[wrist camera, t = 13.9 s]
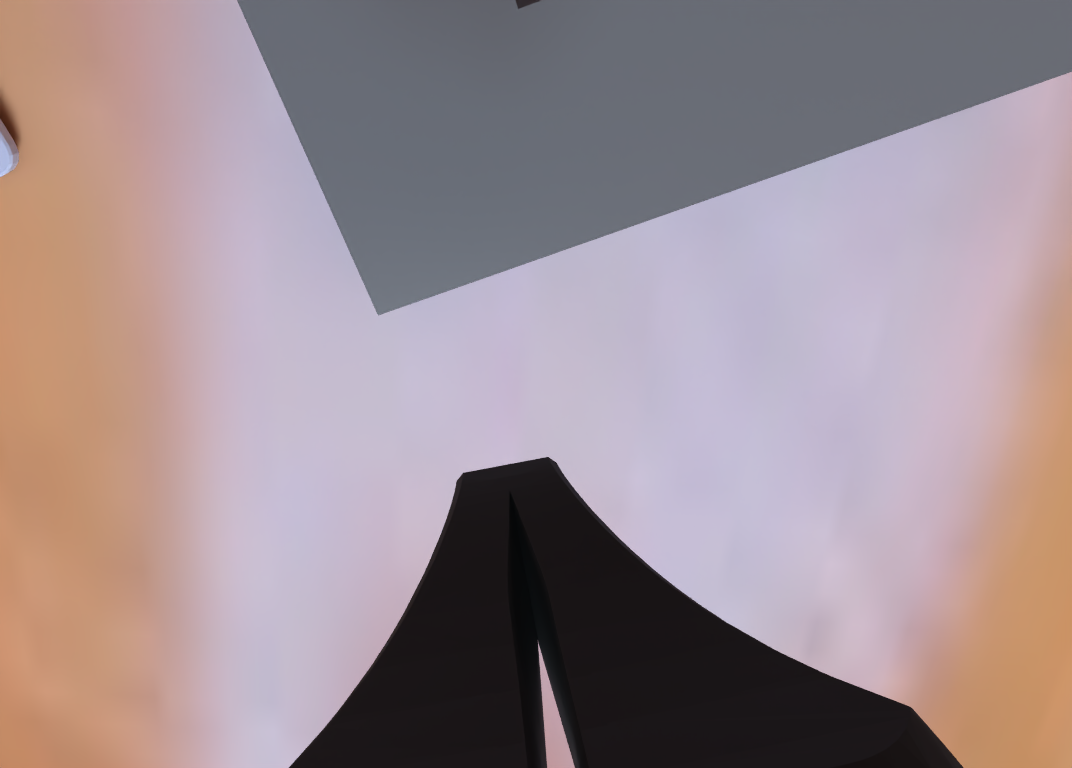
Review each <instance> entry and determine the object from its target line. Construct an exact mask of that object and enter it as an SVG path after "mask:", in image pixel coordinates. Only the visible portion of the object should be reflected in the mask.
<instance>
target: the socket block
mask: <svg viewBox="0 0 1072 768" xmlns="http://www.w3.org/2000/svg"><path fill="white" fill-rule="evenodd" d="M237 1H238V3H239V5H240V8H241V10H242V12H243V14H244V17H245V19H246V21H247V23H248V26H249V28H250V30H251V32H252V35H253V37H254V39H255V41H256V43H257V46H258V48H259V50H260V52H261V55H262V57H263V59H264V61H265V64H266V66H267V68H268V70H269V73H270V75H271V77H272V79H273V81H274V84H275V86H276V88H277V90H278V93H279V95H280V97H281V99H282V102H283V104H284V106H285V108H286V111H287V113H288V115H289V117H290V119H291V122H292V124H293V126H294V128H295V131H296V133H297V135H298V137H299V140H300V142H301V144H302V146H303V149H304V151H305V153H306V155H307V157H308V160H309V162H310V164H311V166H312V169H313V171H314V173H315V175H316V178H317V180H318V182H319V184H320V187H321V189H322V191H323V193H324V195H325V198H326V200H327V202H328V204H329V207H330V209H331V211H332V213H333V216H334V218H335V220H336V222H337V225H338V227H339V229H340V231H341V233H342V236H343V238H344V240H345V242H346V245H347V247H348V249H349V251H350V254H351V256H352V258H353V260H354V263H355V265H356V267H357V269H358V271H359V274H360V276H361V278H362V280H363V283H364V285H365V287H366V289H367V292H368V294H369V296H370V298H371V301H372V303H373V305H374V307H375V309H376V312H377V314H378V315H381V314H384V313H386V312H389V311H392V310H395V309H398V308H401V307H403V306H406V305H409V304H412V303H415V302H418V301H420V300H423V299H426V298H429V297H432V296H435V295H438V294H440V293H443V292H446V291H449V290H452V289H455V288H457V287H460V286H463V285H466V284H469V283H472V282H475V281H477V280H480V279H483V278H486V277H489V276H492V275H494V274H497V273H500V272H503V271H506V270H509V269H512V268H514V267H517V266H520V265H523V264H526V263H529V262H531V261H534V260H537V259H540V258H543V257H546V256H549V255H551V254H554V253H557V252H560V251H563V250H566V249H568V248H571V247H574V246H577V245H580V244H583V243H586V242H588V241H591V240H594V239H597V238H600V237H603V236H605V235H608V234H611V233H614V232H617V231H620V230H623V229H625V228H628V227H631V226H634V225H637V224H640V223H642V222H645V221H648V220H651V219H654V218H657V217H660V216H662V215H665V214H668V213H671V212H674V211H677V210H679V209H682V208H685V207H688V206H691V205H694V204H696V203H699V202H702V201H705V200H708V199H711V198H714V197H716V196H719V195H722V194H725V193H728V192H731V191H733V190H736V189H739V188H742V187H745V186H748V185H751V184H753V183H756V182H759V181H762V180H765V179H768V178H770V177H773V176H776V175H779V174H782V173H785V172H788V171H790V170H793V169H796V168H799V167H802V166H805V165H807V164H810V163H813V162H816V161H819V160H822V159H825V158H827V157H830V156H833V155H836V154H839V153H842V152H844V151H847V150H850V149H853V148H856V147H859V146H862V145H864V144H867V143H870V142H873V141H876V140H879V139H881V138H884V137H887V136H890V135H893V134H896V133H899V132H901V131H904V130H907V129H910V128H913V127H916V126H918V125H921V124H924V123H927V122H930V121H933V120H936V119H938V118H941V117H944V116H947V115H950V114H953V113H955V112H958V111H961V110H964V109H967V108H970V107H972V106H975V105H978V104H981V103H984V102H987V101H990V100H992V99H995V98H998V97H1001V96H1004V95H1007V94H1009V93H1012V92H1015V91H1018V90H1021V89H1024V88H1027V87H1029V86H1032V85H1035V84H1038V83H1041V82H1044V81H1046V80H1049V79H1052V78H1055V77H1058V76H1061V75H1064V74H1066V73H1069V72H1072V0H237Z"/></svg>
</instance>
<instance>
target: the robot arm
mask: <svg viewBox="0 0 1072 768" xmlns="http://www.w3.org/2000/svg"><path fill="white" fill-rule="evenodd" d="M18 161H19V152H18V149H17V146H16V144H15V142H14V140H13V139H12V137H11V135H10V134H9V132H8V130H7V129H6V127H5V126H4V124H3V122H2V121H1V119H0V177H1V176H3V175H5V174H7V173H9V172H10V171H12V170H13V169H15V167H16V165H17V163H18ZM538 642H539V646H540V649H541V653H542V656H543V660H544V663H545V667H546V670H547V673H548V677H549V680H550V684H551V687H552V691H553V694H554V697H555V701H556V704H557V708H558V711H559V714H560V718H561V721H562V725H563V728H564V731H565V735H566V738H567V742H568V745H569V748H570V752H571V755H572V759H573V762H574V766H575V768H963V767H962V765H961V764H960V763H959V762H958V761H957V759H956V758H955V757H954V756H953V755H952V753H951V752H950V751H949V750H948V749H947V748H946V746H945V745H944V744H943V743H942V742H941V741H940V739H939V738H938V737H937V736H936V735H935V734H934V733H933V731H932V730H931V729H930V728H929V727H928V726H927V725H926V723H925V722H924V721H923V720H922V719H921V718H920V717H919V715H918V714H917V713H916V712H915V711H914V710H913V709H912V708H911V707H909V706H907V705H904V704H901V703H899V702H896V701H894V700H891V699H888V698H886V697H883V696H881V695H878V694H875V693H873V692H870V691H868V690H865V689H862V688H860V687H857V686H855V685H852V684H849V683H847V682H844V681H842V680H839V679H836V678H834V677H831V676H829V675H827V674H825V673H822V672H820V671H818V670H816V669H814V668H812V667H809V666H807V665H805V664H803V663H801V662H799V661H797V660H795V659H793V658H790V657H788V656H786V655H784V654H782V653H780V652H778V651H776V650H774V649H772V648H770V647H769V646H767V645H765V644H763V643H762V642H760V641H758V640H756V639H755V638H753V637H751V636H749V635H748V634H746V633H744V632H742V631H741V630H739V629H737V628H735V627H733V626H732V625H730V624H728V623H726V622H725V621H723V620H722V619H720V618H719V617H717V616H716V615H714V614H713V613H711V612H710V611H708V610H707V609H705V608H704V607H702V606H701V605H699V604H698V603H696V602H695V601H694V600H692V599H691V598H690V597H688V596H687V595H686V594H684V593H683V592H681V591H680V590H679V589H677V588H676V587H675V586H673V585H672V584H671V583H670V582H668V581H667V580H666V579H664V578H663V577H662V576H661V575H660V574H658V573H657V572H656V571H655V570H654V569H652V568H651V567H650V566H649V565H648V564H647V563H645V562H644V561H643V560H642V559H641V558H640V557H639V556H638V555H636V554H635V553H634V552H633V551H632V550H631V549H630V548H629V547H628V546H627V545H626V544H625V543H624V542H622V541H621V540H620V539H619V538H618V537H617V536H616V535H615V534H614V533H613V532H612V531H611V530H610V528H609V527H608V526H607V525H606V524H605V523H604V522H603V521H602V520H601V519H600V518H599V517H598V516H597V515H596V514H595V513H594V512H593V511H592V509H591V508H590V507H589V506H588V505H587V504H586V503H585V501H584V500H583V499H582V498H581V497H580V495H579V494H578V493H577V492H576V491H575V489H574V488H573V487H572V485H571V484H570V483H569V481H568V480H567V479H566V477H565V476H564V474H563V473H562V471H561V470H560V468H559V466H558V465H557V463H556V462H555V461H553V460H552V459H550V458H549V457H546V458H540V459H535V460H530V461H524V462H519V463H514V464H508V465H503V466H498V467H492V468H487V469H482V470H477V471H471V472H466V473H463V474H462V475H461V476H460V478H459V479H458V480H457V482H456V488H455V493H454V496H453V500H452V504H451V507H450V510H449V513H448V516H447V519H446V522H445V525H444V527H443V530H442V533H441V535H440V538H439V540H438V542H437V545H436V547H435V550H434V552H433V554H432V557H431V559H430V562H429V564H428V566H427V568H426V571H425V573H424V575H423V577H422V579H421V581H420V583H419V585H418V587H417V589H416V590H415V592H414V594H413V596H412V598H411V600H410V602H409V604H408V606H407V608H406V610H405V612H404V614H403V616H402V617H401V619H400V621H399V623H398V624H397V626H396V628H395V629H394V631H393V633H392V634H391V636H390V638H389V639H388V641H387V643H386V644H385V646H384V647H383V649H382V650H381V652H380V653H379V655H378V656H377V658H376V660H375V661H374V663H373V664H372V666H371V667H370V669H369V670H368V671H367V673H366V674H365V675H364V677H363V678H362V680H361V681H360V682H359V684H358V685H357V686H356V688H355V689H354V691H353V692H352V693H351V695H350V696H349V697H348V699H347V700H346V701H345V703H344V704H343V705H342V707H341V708H340V709H339V710H338V712H337V713H336V714H335V716H334V717H333V718H332V719H331V721H330V722H329V723H328V724H327V725H326V727H325V728H324V729H323V730H322V731H321V732H320V734H319V735H318V736H317V737H316V738H315V739H314V740H313V741H312V742H311V744H310V745H309V746H308V747H307V748H306V749H305V750H304V751H303V753H302V754H301V755H300V756H299V757H298V758H297V759H296V760H295V761H294V763H293V764H292V765H291V766H290V767H289V768H547V761H546V747H545V733H544V720H543V706H542V692H541V678H540V665H539V652H538Z"/></svg>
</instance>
